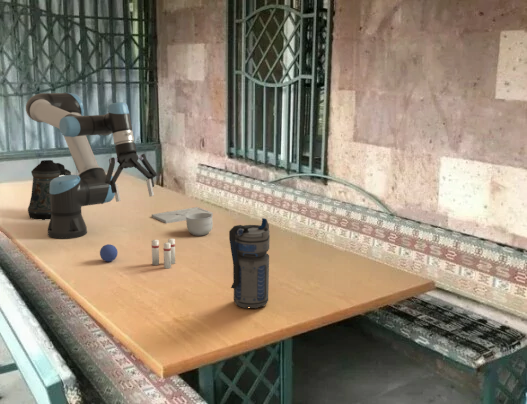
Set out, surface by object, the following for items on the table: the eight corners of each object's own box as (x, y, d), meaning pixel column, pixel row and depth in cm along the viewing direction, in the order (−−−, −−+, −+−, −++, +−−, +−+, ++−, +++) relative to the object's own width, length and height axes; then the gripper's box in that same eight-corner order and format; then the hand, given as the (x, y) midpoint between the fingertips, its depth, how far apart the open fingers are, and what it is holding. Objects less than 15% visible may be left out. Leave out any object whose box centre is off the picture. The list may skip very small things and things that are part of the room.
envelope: (151, 218, 279) (166, 225, 268) (151, 213, 279) (165, 220, 268) (197, 210, 293) (212, 216, 282) (197, 206, 293) (212, 212, 282)
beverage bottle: (219, 304, 179) (220, 221, 173) (255, 294, 187) (256, 214, 182) (240, 315, 171) (241, 228, 166) (277, 304, 179) (279, 221, 174)
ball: (97, 263, 213) (96, 246, 212) (104, 258, 219) (103, 241, 218) (113, 264, 213) (113, 247, 211) (120, 259, 218) (119, 242, 217)
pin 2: (167, 263, 214) (166, 240, 212) (169, 261, 217) (168, 238, 215) (174, 264, 214) (173, 240, 212) (176, 262, 216) (175, 238, 214)
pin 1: (162, 268, 209) (162, 244, 207) (165, 266, 212) (164, 242, 210) (169, 268, 209) (169, 244, 207) (172, 266, 211) (171, 242, 209)
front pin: (151, 265, 212) (150, 241, 211) (153, 262, 215) (152, 239, 213) (158, 265, 212) (157, 241, 210) (160, 263, 214) (159, 239, 213)
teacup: (208, 238, 247) (208, 218, 245) (182, 236, 249) (182, 217, 247) (217, 229, 260) (217, 211, 258) (193, 227, 262) (192, 209, 260)
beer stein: (20, 217, 273) (16, 162, 268) (50, 208, 291) (47, 156, 286) (49, 221, 267) (46, 165, 262) (78, 212, 285) (76, 159, 280)
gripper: (96, 144, 222) (107, 202, 222) (158, 138, 237) (169, 192, 236) (89, 148, 228) (100, 204, 228) (150, 142, 243) (160, 195, 243)
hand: (135, 198), depth 232 cm, fingers open, 13 cm apart
